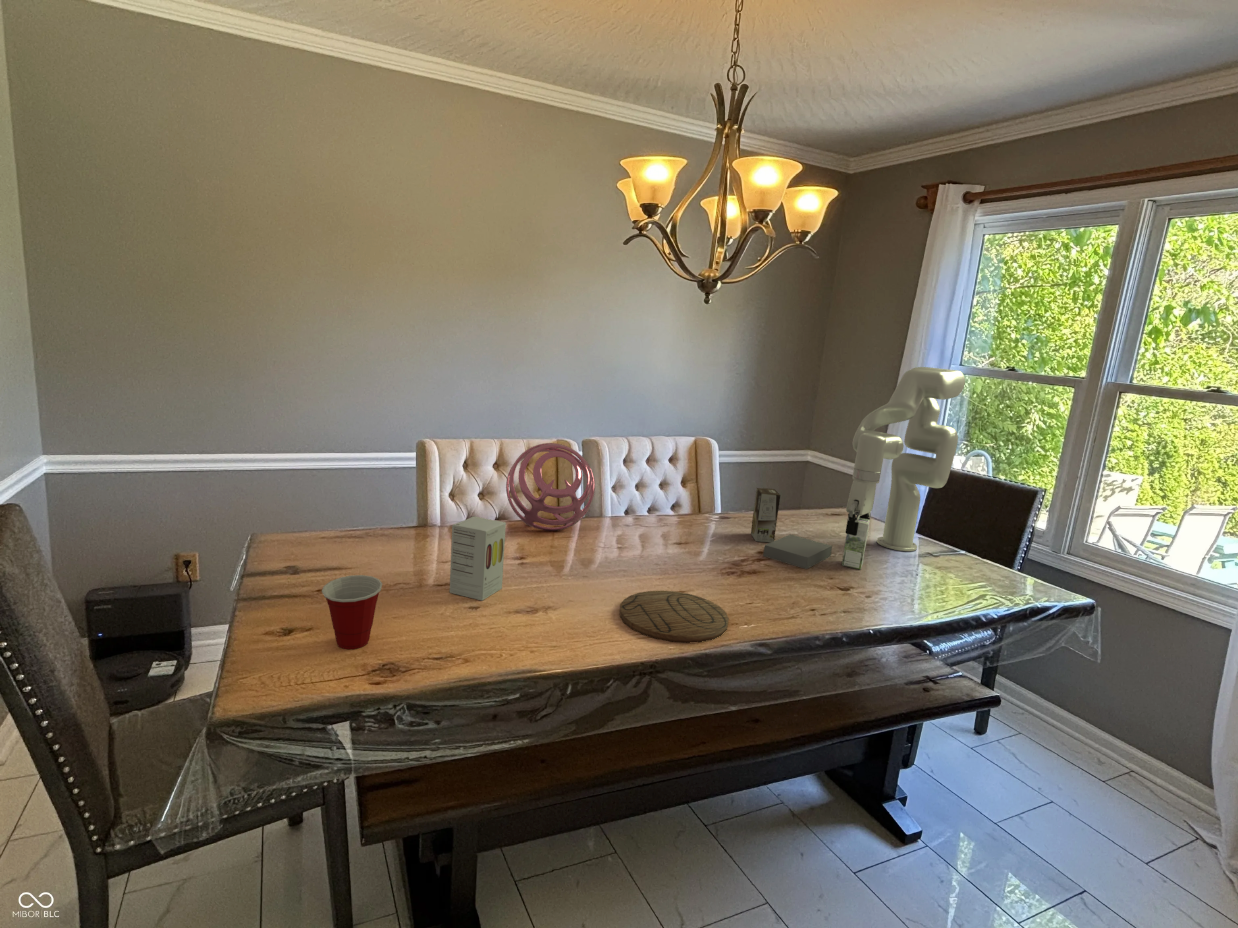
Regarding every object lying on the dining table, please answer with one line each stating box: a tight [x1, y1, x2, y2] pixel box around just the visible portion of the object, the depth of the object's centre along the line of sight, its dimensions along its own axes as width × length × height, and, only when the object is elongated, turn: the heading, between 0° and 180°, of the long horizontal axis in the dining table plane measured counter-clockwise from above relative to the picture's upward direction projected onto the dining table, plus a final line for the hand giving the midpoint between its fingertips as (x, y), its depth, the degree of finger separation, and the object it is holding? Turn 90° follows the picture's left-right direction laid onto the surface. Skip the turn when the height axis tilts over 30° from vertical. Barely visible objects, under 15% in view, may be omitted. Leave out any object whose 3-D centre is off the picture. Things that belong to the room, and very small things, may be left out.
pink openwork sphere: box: [505, 442, 596, 532], centre depth 217 cm, size 28×28×27 cm
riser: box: [762, 534, 833, 570], centre depth 209 cm, size 18×14×4 cm
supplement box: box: [449, 516, 507, 601], centre depth 161 cm, size 10×9×17 cm
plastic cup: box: [321, 574, 383, 650], centre depth 131 cm, size 11×11×12 cm
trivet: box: [619, 590, 730, 644], centre depth 157 cm, size 25×25×2 cm
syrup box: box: [841, 518, 871, 570], centre depth 204 cm, size 6×6×14 cm
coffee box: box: [750, 487, 781, 543], centre depth 224 cm, size 9×6×16 cm
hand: (856, 531), depth 203 cm, fingers open, 9 cm apart
